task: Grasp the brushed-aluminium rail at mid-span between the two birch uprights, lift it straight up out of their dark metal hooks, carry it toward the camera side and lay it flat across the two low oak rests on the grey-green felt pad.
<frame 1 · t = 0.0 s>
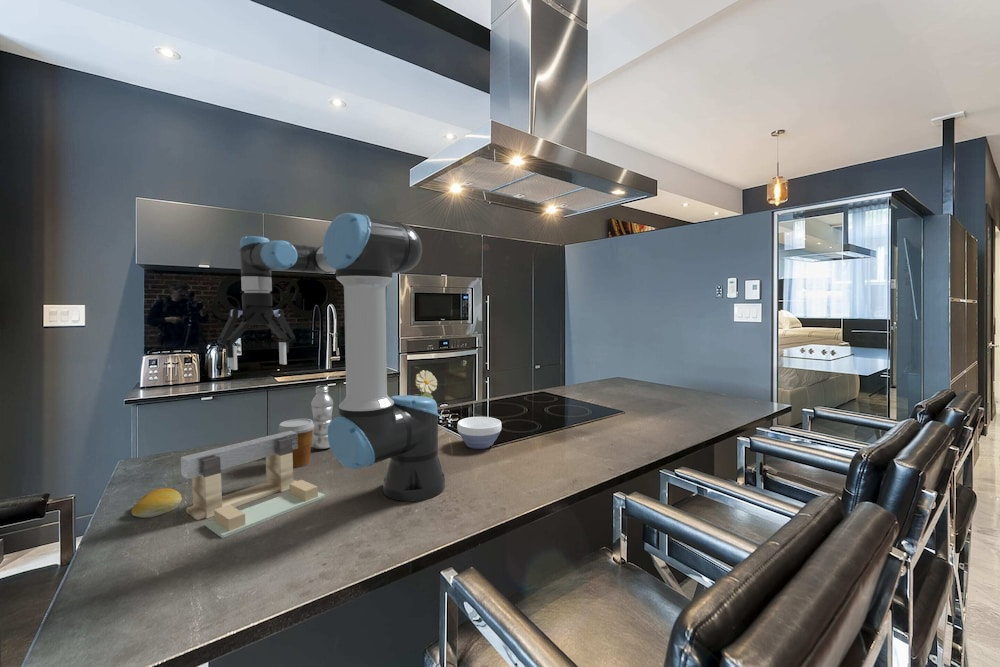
hand: (259, 366, 122), 28 cm above the counter, fingers open, 13 cm apart
bowl: (479, 445, 140), on the counter
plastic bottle: (323, 448, 136), on the counter
rail: (244, 460, 100), point 9 cm above the counter, touching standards
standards: (246, 497, 101), on the counter
flower in vase: (417, 448, 137), on the counter
rest pad: (269, 510, 94), on the counter
disposable coffee cup: (297, 464, 123), on the counter
bread roll: (157, 510, 95), on the counter
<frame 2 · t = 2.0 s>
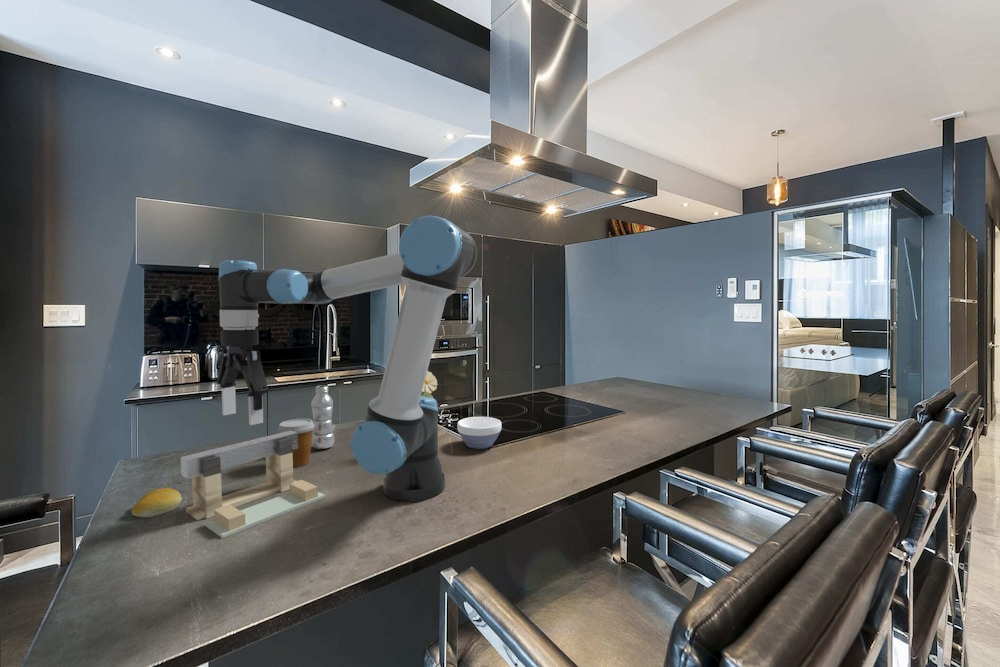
hand: (242, 418, 100), 19 cm above the counter, fingers open, 13 cm apart
nothing on the counter moved.
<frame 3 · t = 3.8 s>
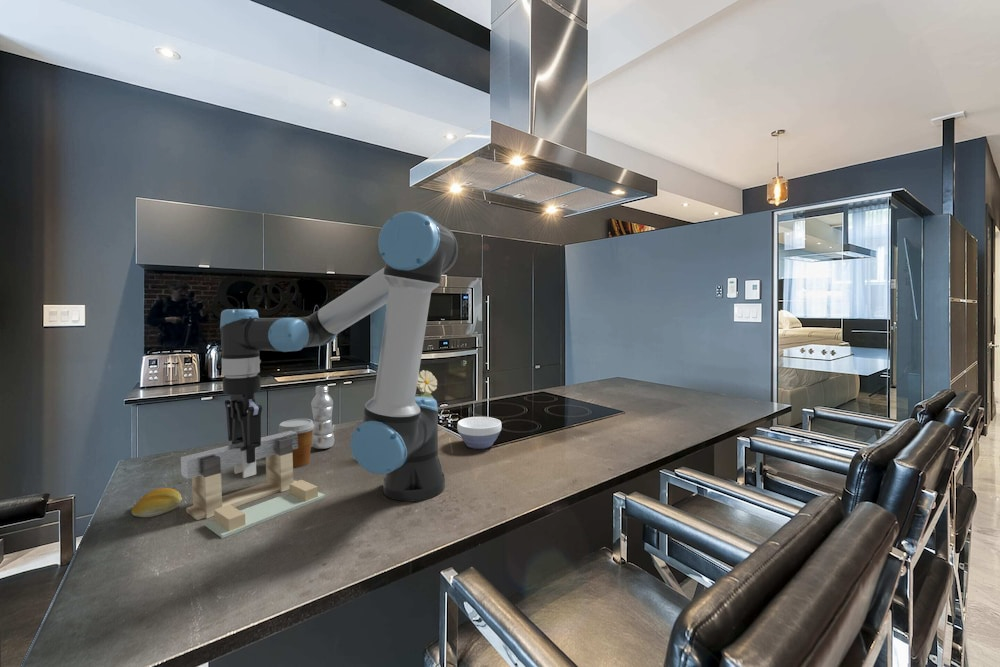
hand: (245, 473, 100), 6 cm above the counter, fingers closed on rail, 3 cm apart
rail: (244, 460, 100), point 9 cm above the counter, touching gripper, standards
everything else where it was.
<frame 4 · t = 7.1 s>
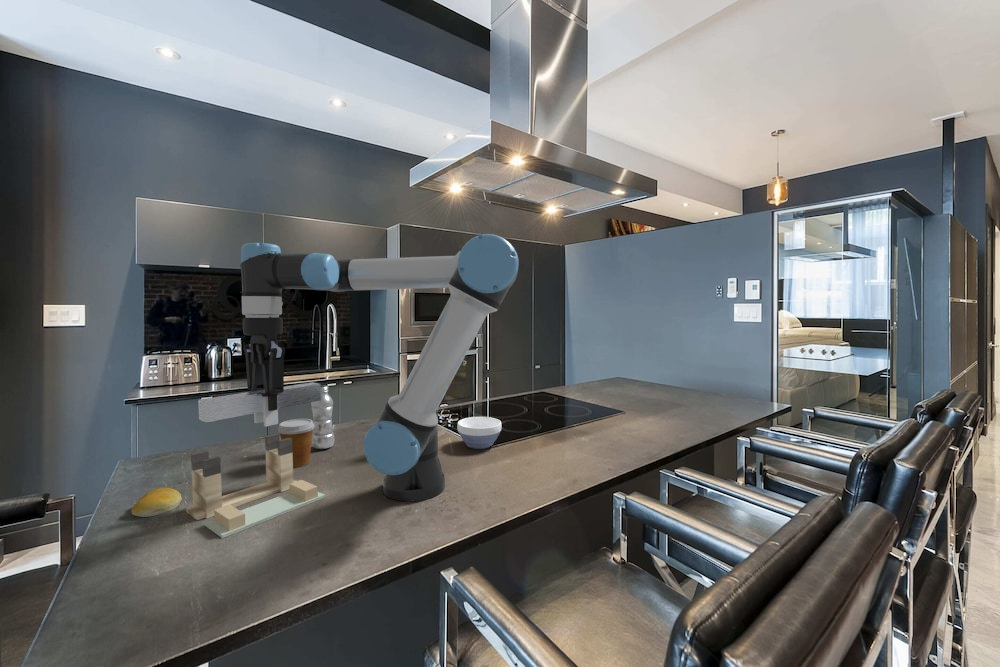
hand: (266, 423, 93), 20 cm above the counter, fingers closed on rail, 3 cm apart
rail: (265, 409, 93), point 23 cm above the counter, touching gripper
everything else where it was.
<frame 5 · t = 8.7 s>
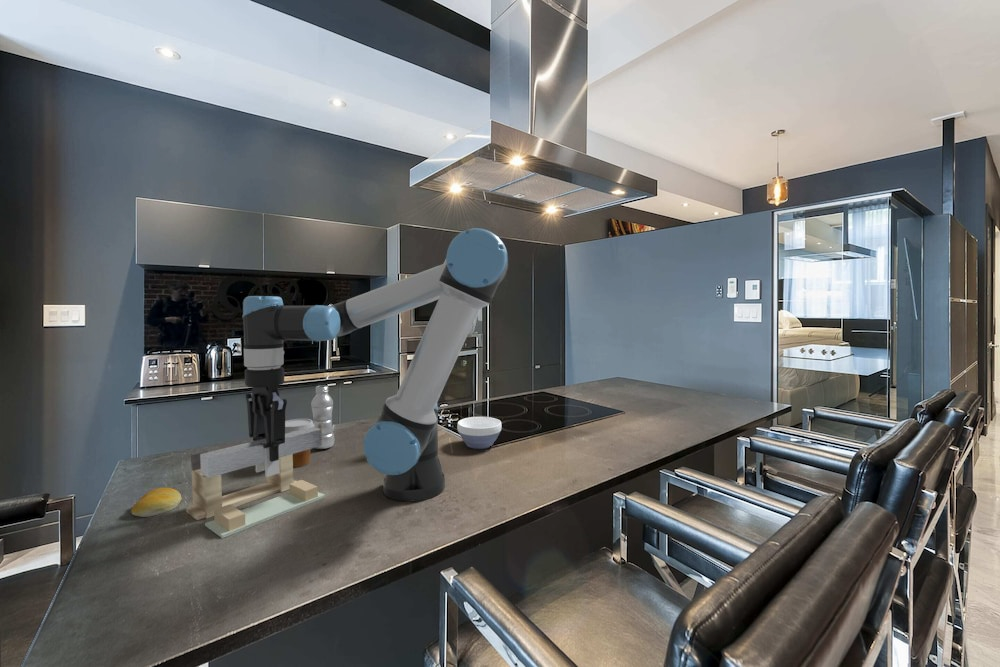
hand: (267, 472, 94), 9 cm above the counter, fingers closed on rail, 3 cm apart
rail: (266, 458, 94), point 12 cm above the counter, touching gripper
everything else where it was.
when the fingers open (2 cm above the counter, at t = 10.3 s): rail drops 2 cm, resting on rest pad.
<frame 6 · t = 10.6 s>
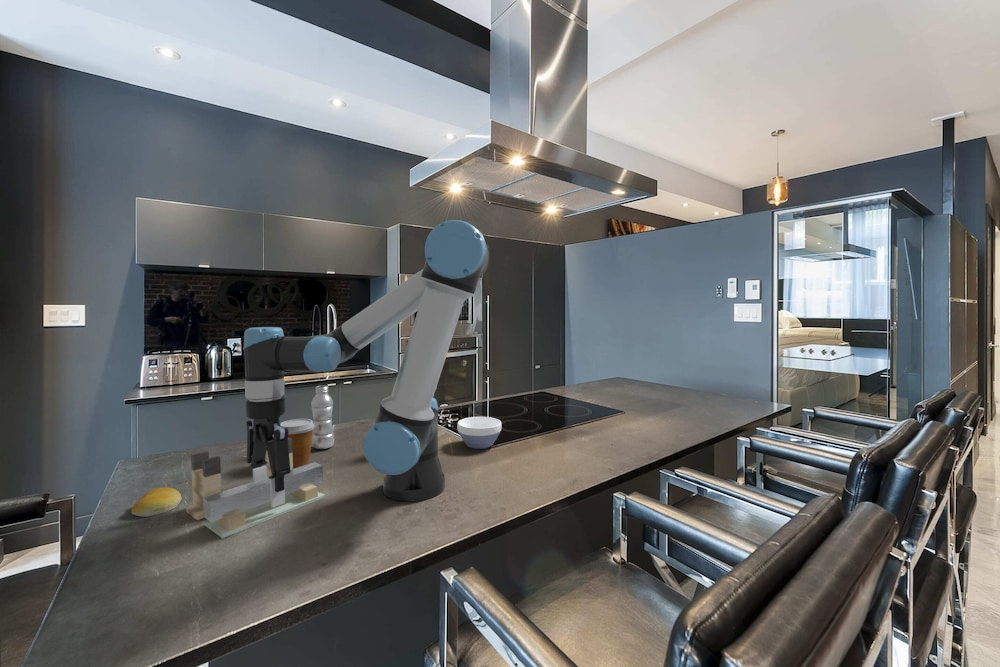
hand: (269, 499, 94), 2 cm above the counter, fingers open, 7 cm apart
rail: (268, 497, 94), point 3 cm above the counter, touching rest pad
everything else where it was.
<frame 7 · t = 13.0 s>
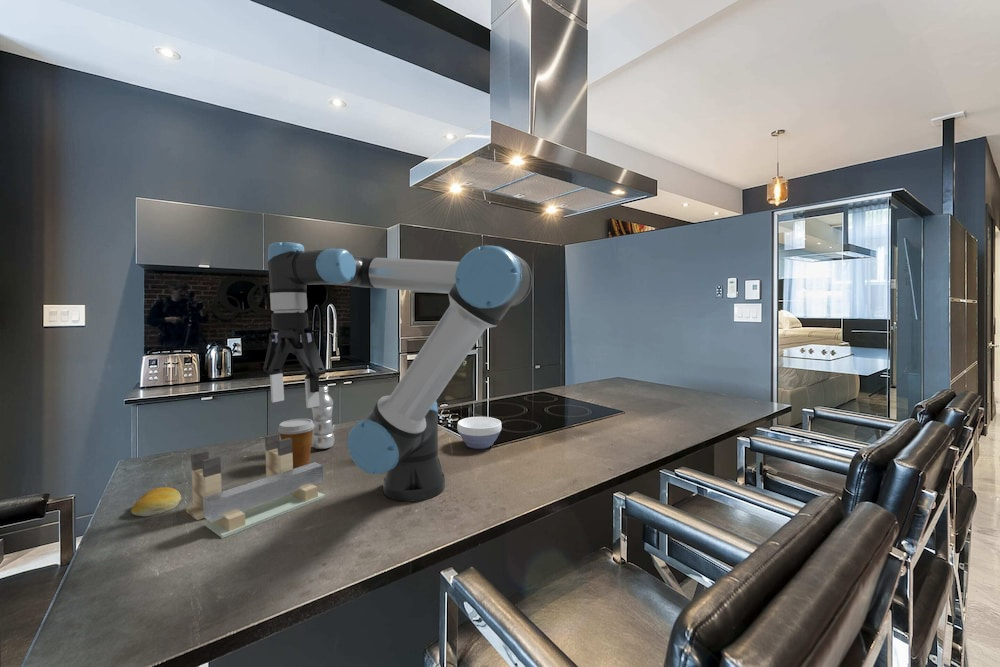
hand: (294, 404, 98), 23 cm above the counter, fingers open, 13 cm apart
nothing on the counter moved.
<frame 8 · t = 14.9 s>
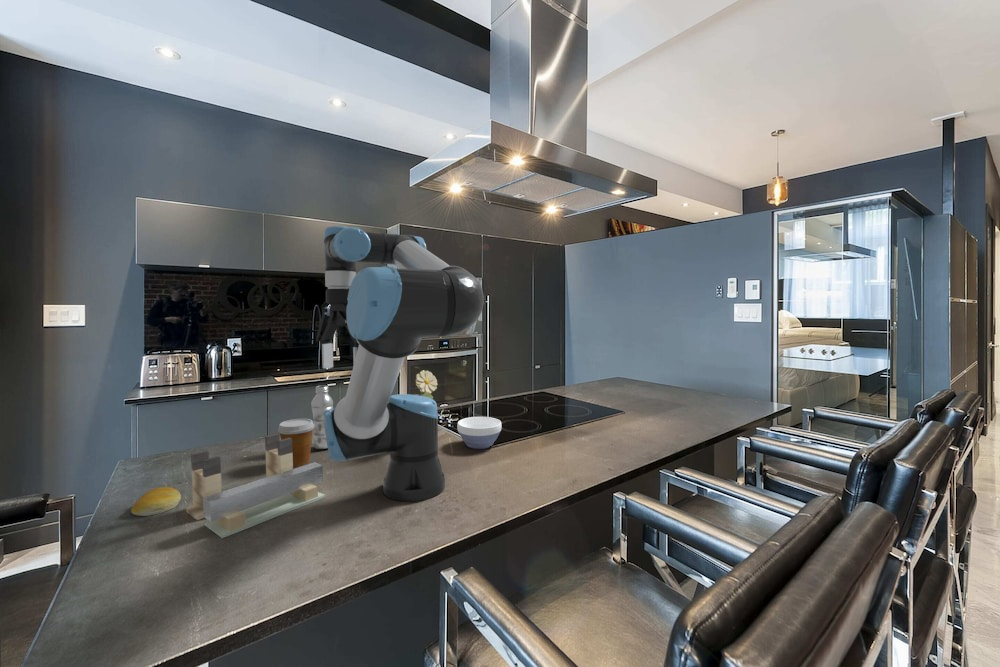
hand: (343, 370, 111), 29 cm above the counter, fingers open, 13 cm apart
nothing on the counter moved.
at the end: rail inside the target area on the rest pad (0.0 cm from its centre), point 3.0 cm above the rest pad's base; rail tilted 0°; the gripper is holding nothing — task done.
